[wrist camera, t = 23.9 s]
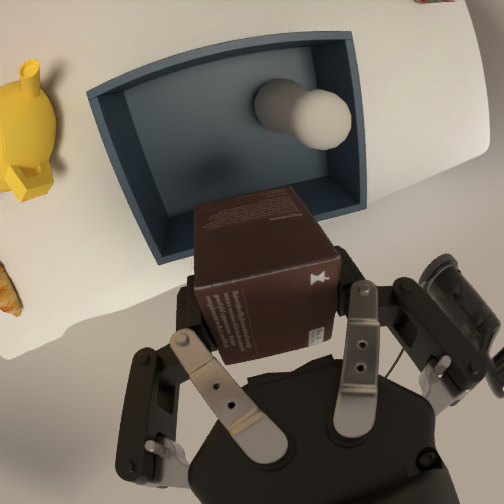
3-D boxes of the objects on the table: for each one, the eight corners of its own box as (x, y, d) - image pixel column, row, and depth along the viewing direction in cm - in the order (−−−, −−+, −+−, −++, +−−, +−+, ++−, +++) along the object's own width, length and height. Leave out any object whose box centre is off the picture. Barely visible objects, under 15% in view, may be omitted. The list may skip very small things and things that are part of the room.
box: (192, 201, 16) (189, 287, 10) (291, 182, 16) (345, 254, 10) (213, 278, 19) (223, 367, 14) (296, 260, 20) (333, 342, 14)
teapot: (40, 223, 29) (3, 275, 20) (-32, 154, 19) (-80, 187, 10) (120, 103, 24) (79, 118, 15) (32, 28, 14) (-24, 24, 5)
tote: (331, 177, 33) (366, 209, 26) (166, 220, 33) (158, 265, 26) (312, 40, 23) (351, 31, 15) (117, 87, 22) (85, 92, 15)
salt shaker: (312, 99, 26) (380, 119, 16) (283, 138, 28) (333, 179, 18) (270, 68, 24) (320, 62, 13) (239, 110, 26) (266, 131, 15)
